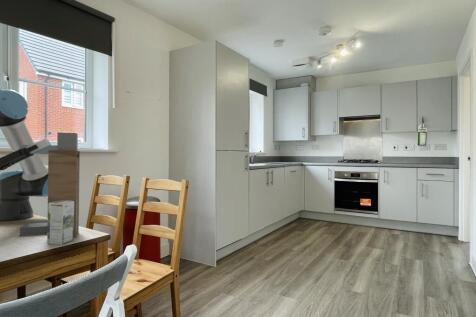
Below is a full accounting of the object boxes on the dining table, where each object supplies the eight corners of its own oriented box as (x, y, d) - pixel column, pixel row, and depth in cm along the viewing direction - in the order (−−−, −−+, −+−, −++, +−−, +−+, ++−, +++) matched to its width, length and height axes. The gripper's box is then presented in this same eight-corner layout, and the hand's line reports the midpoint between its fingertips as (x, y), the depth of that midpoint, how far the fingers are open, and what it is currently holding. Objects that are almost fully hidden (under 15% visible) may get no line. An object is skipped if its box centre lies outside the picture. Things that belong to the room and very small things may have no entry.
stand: (52, 234, 111) (53, 150, 111) (78, 232, 114) (79, 151, 115) (47, 240, 104) (48, 150, 104) (75, 237, 107) (76, 150, 107)
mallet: (21, 153, 102) (21, 131, 102) (25, 153, 106) (25, 132, 106) (75, 154, 108) (75, 133, 108) (77, 154, 113) (77, 133, 112)
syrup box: (59, 239, 105) (59, 199, 105) (74, 240, 104) (74, 200, 104) (46, 244, 99) (47, 202, 99) (62, 245, 98) (63, 202, 98)
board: (25, 231, 115) (25, 223, 115) (65, 228, 121) (65, 221, 121) (19, 235, 109) (19, 227, 109) (62, 232, 114) (62, 225, 114)
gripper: (-5, 181, 108) (58, 151, 115) (-25, 185, 93) (49, 150, 100) (-17, 164, 106) (47, 134, 114) (-40, 165, 91) (36, 131, 99)
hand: (48, 142), depth 107 cm, fingers closed on mallet, 3 cm apart
